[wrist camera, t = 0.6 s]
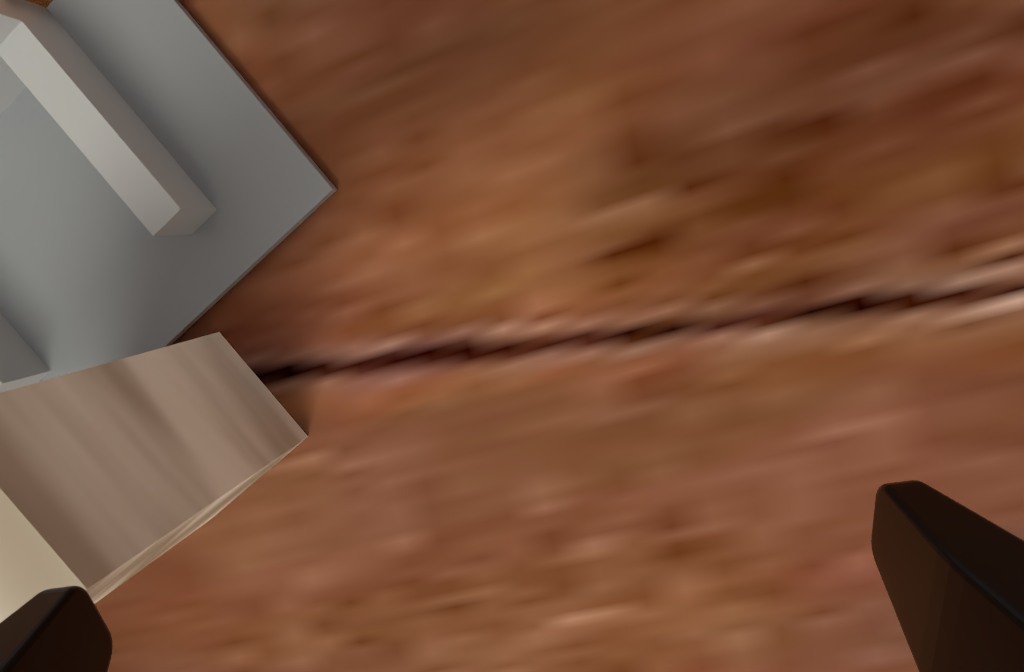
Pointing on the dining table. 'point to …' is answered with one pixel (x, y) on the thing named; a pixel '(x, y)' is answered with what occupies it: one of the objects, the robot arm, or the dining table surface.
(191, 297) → the keeper bracket
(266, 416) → the link block
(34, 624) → the robot arm
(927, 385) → the dining table surface
